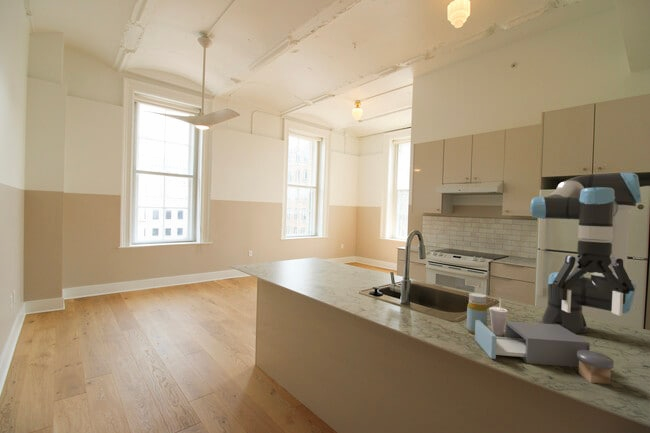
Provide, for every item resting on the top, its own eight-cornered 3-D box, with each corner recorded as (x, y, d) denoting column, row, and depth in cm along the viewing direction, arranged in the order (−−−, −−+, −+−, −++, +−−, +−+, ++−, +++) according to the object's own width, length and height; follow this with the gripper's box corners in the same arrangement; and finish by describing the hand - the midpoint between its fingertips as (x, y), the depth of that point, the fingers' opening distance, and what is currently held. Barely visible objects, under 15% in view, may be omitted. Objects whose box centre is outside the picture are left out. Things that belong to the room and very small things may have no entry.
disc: (599, 356, 92) (599, 351, 92) (621, 370, 84) (621, 364, 84) (570, 354, 93) (570, 349, 93) (589, 367, 85) (590, 362, 85)
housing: (557, 346, 110) (558, 324, 110) (588, 367, 95) (589, 342, 95) (504, 342, 112) (505, 321, 112) (526, 363, 97) (527, 338, 97)
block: (596, 374, 91) (597, 358, 91) (610, 384, 86) (611, 366, 86) (578, 373, 92) (579, 356, 92) (590, 382, 87) (591, 365, 87)
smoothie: (506, 338, 116) (508, 301, 116) (487, 334, 119) (489, 298, 119) (507, 332, 121) (508, 297, 121) (488, 329, 125) (490, 295, 124)
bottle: (488, 336, 117) (490, 298, 117) (469, 334, 119) (470, 296, 118) (483, 329, 124) (484, 293, 124) (464, 327, 125) (466, 291, 125)
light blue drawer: (526, 343, 111) (527, 323, 111) (550, 363, 97) (551, 340, 96) (474, 339, 113) (475, 320, 113) (491, 358, 99) (492, 336, 99)
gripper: (630, 241, 91) (627, 311, 91) (541, 237, 94) (537, 305, 95) (654, 243, 84) (650, 320, 84) (556, 240, 87) (552, 314, 87)
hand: (591, 312), depth 89 cm, fingers open, 13 cm apart
